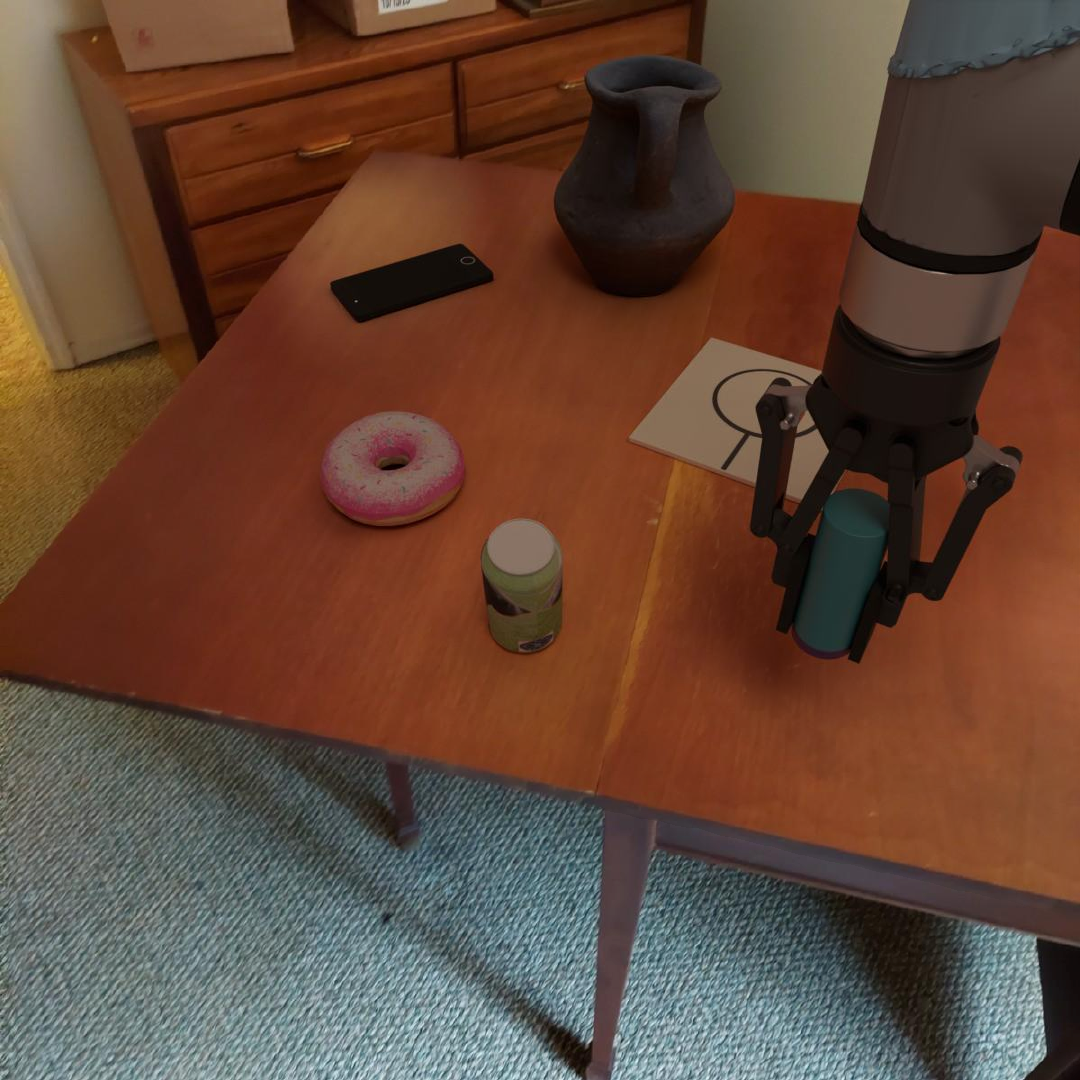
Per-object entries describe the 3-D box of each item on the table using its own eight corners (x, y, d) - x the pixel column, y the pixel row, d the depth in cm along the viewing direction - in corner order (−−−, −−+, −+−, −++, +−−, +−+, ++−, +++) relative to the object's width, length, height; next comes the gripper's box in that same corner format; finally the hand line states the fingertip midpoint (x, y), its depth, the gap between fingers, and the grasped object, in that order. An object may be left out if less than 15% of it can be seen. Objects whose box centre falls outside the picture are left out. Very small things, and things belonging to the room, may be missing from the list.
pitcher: (708, 231, 124) (734, 23, 106) (739, 325, 109) (775, 101, 91) (550, 236, 123) (549, 28, 106) (558, 331, 108) (559, 107, 90)
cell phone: (495, 280, 116) (495, 273, 115) (357, 323, 110) (356, 316, 109) (462, 248, 121) (461, 242, 121) (329, 288, 115) (328, 281, 114)
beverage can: (555, 596, 81) (554, 493, 72) (571, 665, 76) (573, 563, 67) (481, 606, 80) (472, 503, 71) (493, 677, 75) (484, 575, 66)
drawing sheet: (888, 396, 99) (889, 390, 99) (822, 512, 87) (824, 506, 87) (710, 341, 107) (711, 335, 106) (628, 441, 95) (628, 435, 94)
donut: (387, 560, 84) (380, 520, 80) (295, 491, 90) (284, 450, 87) (495, 483, 91) (492, 443, 87) (402, 424, 97) (396, 384, 94)
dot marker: (863, 626, 62) (905, 502, 54) (843, 669, 60) (885, 546, 52) (803, 602, 63) (836, 479, 56) (782, 644, 61) (813, 521, 53)
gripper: (1129, 325, 44) (974, 644, 60) (774, 238, 50) (723, 548, 67) (1103, 414, 39) (943, 732, 56) (717, 306, 45) (677, 620, 62)
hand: (824, 631), depth 61 cm, fingers closed on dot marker, 4 cm apart
